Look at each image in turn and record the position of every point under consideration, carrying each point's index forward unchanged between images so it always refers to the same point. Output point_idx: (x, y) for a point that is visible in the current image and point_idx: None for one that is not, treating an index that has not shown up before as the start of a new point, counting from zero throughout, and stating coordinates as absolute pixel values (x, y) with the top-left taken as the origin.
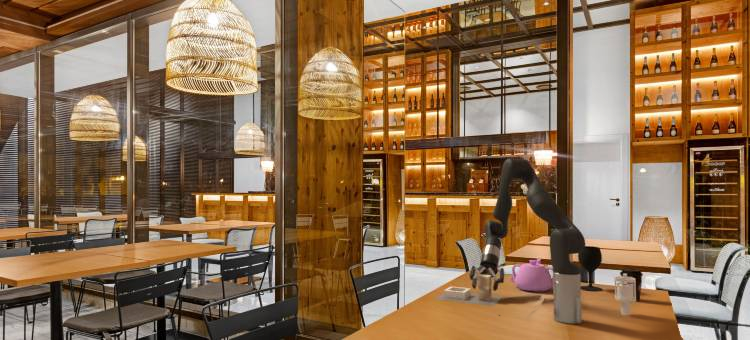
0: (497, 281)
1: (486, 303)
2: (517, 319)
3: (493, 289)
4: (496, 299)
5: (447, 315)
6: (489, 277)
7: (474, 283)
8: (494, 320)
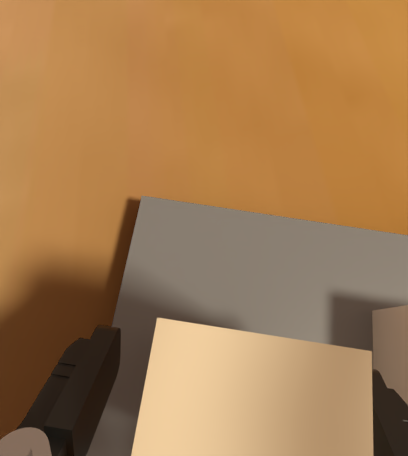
0: (21, 433)
1: (192, 250)
2: (17, 63)
3: (118, 337)
4: (116, 427)
5: (363, 36)
6: (146, 387)
7: (377, 397)
8: (133, 22)
